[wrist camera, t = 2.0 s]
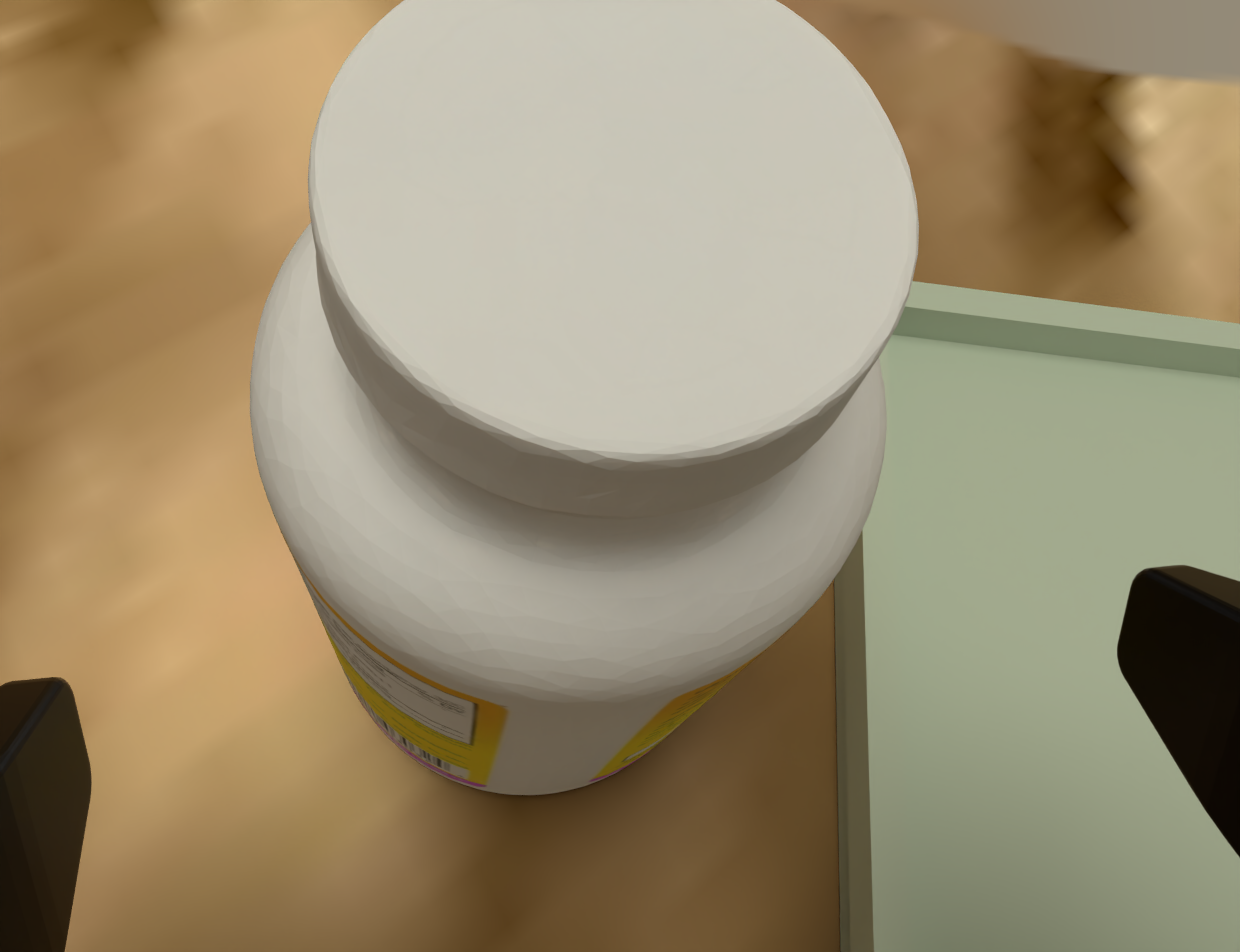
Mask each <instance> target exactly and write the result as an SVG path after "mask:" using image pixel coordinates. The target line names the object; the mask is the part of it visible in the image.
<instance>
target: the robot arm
mask: <svg viewBox="0 0 1240 952" xmlns="http://www.w3.org/2000/svg"><path fill="white" fill-rule="evenodd" d="M1117 659H1118V664H1119V667H1120V670H1121V673H1122V675H1123V677H1124V678H1125V680H1126V682H1127V683H1128V685H1129V687H1130V688H1131V690H1132V692H1133V693H1134V695H1135V696H1136V698H1137V700H1138V701H1139V703H1140V705H1141V706H1142V708H1143V710H1144V711H1145V713H1146V715H1147V716H1148V718H1149V720H1150V721H1151V723H1152V725H1153V726H1154V728H1155V730H1156V731H1157V733H1158V734H1159V736H1160V738H1161V739H1162V741H1163V743H1164V744H1165V746H1166V748H1167V749H1168V751H1169V753H1170V754H1171V756H1172V758H1173V759H1174V761H1175V763H1176V764H1177V766H1178V768H1179V769H1180V771H1181V772H1182V774H1183V776H1184V777H1185V779H1186V781H1187V782H1188V784H1189V786H1190V787H1191V789H1192V791H1193V792H1194V794H1195V795H1196V797H1197V798H1198V800H1199V801H1200V803H1201V805H1202V806H1203V808H1204V809H1205V811H1206V812H1207V814H1208V815H1209V817H1210V818H1211V819H1212V821H1213V822H1214V824H1215V825H1216V826H1217V828H1218V829H1219V831H1220V832H1221V834H1222V835H1223V836H1224V838H1225V839H1226V840H1227V842H1228V843H1229V844H1230V846H1231V847H1232V848H1233V850H1234V851H1235V852H1236V854H1237V855H1238V856H1239V858H1240V581H1237V580H1234V579H1231V578H1228V577H1224V576H1221V575H1218V574H1215V573H1211V572H1208V571H1205V570H1201V569H1198V568H1195V567H1192V566H1187V565H1171V566H1162V567H1152V568H1146V569H1143V570H1142V571H1140V572H1139V573H1138V574H1137V575H1136V576H1135V578H1134V579H1133V581H1132V584H1131V587H1130V591H1129V595H1128V600H1127V604H1126V608H1125V613H1124V617H1123V622H1122V626H1121V630H1120V635H1119V639H1118V644H1117ZM90 797H91V768H90V762H89V757H88V753H87V749H86V745H85V740H84V736H83V732H82V728H81V723H80V719H79V715H78V711H77V706H76V702H75V698H74V694H73V691H72V689H71V687H70V685H69V684H68V682H66V681H65V680H64V679H62V678H59V677H50V678H40V679H30V680H20V681H12V682H8V683H5V684H3V685H2V686H0V952H65V947H66V941H67V935H68V929H69V923H70V917H71V911H72V905H73V899H74V893H75V887H76V881H77V875H78V869H79V863H80V857H81V851H82V845H83V839H84V833H85V827H86V821H87V815H88V809H89V803H90Z"/></svg>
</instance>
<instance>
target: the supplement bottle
mask: <svg viewBox="0 0 1240 952" xmlns="http://www.w3.org/2000/svg"><path fill="white" fill-rule="evenodd" d="M308 193H309V209H310V217H311V223H310V224H309V225H308V227H307V228H306V229H305V230H304V232H303V233H302V235H301V236H300V237H299V239H298V240H297V242H296V243H295V245H294V246H293V248H292V250H291V251H290V253H289V254H288V256H287V258H286V259H285V261H284V263H283V264H282V266H281V268H280V271H279V273H278V275H277V277H276V279H275V282H274V284H273V286H272V289H271V291H270V293H269V296H268V298H267V300H266V303H265V306H264V309H263V312H262V316H261V320H260V324H259V328H258V333H257V337H256V342H255V348H254V354H253V360H252V370H251V380H250V418H251V427H252V435H253V443H254V451H255V456H256V460H257V465H258V469H259V473H260V477H261V480H262V483H263V486H264V489H265V492H266V495H267V498H268V501H269V503H270V505H271V508H272V511H273V514H274V516H275V519H276V521H277V523H278V525H279V528H280V530H281V533H282V534H283V537H284V539H285V541H286V543H287V545H288V547H289V549H290V552H291V554H292V556H293V558H294V560H295V562H296V564H297V566H298V569H299V571H300V573H301V575H302V578H303V580H304V582H305V584H306V587H307V589H308V591H309V593H310V595H311V598H312V600H313V602H314V605H315V607H316V609H317V612H318V614H319V616H320V619H321V621H322V623H323V625H324V628H325V630H326V632H327V635H328V637H329V639H330V641H331V644H332V646H333V648H334V650H335V653H336V655H337V657H338V659H339V662H340V664H341V666H342V668H343V671H344V673H345V675H346V677H347V679H348V681H349V683H350V685H351V687H352V689H353V690H354V692H355V694H356V695H357V697H358V699H359V700H360V702H361V704H362V705H363V707H364V708H365V709H366V711H367V712H368V713H369V715H370V716H371V717H372V719H373V720H374V722H375V723H376V724H377V725H378V726H379V728H380V729H381V730H382V731H383V732H384V733H385V735H386V736H387V737H388V738H389V739H390V740H392V741H393V742H394V743H395V744H396V745H397V746H398V747H399V748H400V749H401V750H403V751H404V752H405V753H406V754H407V755H409V756H410V757H412V758H413V759H415V760H416V761H418V762H419V763H420V764H422V765H423V766H425V767H427V768H429V769H430V770H432V771H434V772H436V773H437V774H439V775H441V776H443V777H446V778H448V779H450V780H453V781H455V782H458V783H460V784H463V785H466V786H470V787H473V788H476V789H480V790H484V791H489V792H495V793H500V794H509V795H541V794H551V793H557V792H563V791H568V790H572V789H575V788H579V787H583V786H586V785H589V784H592V783H594V782H597V781H600V780H602V779H604V778H606V777H608V776H610V775H613V774H615V773H617V772H618V771H620V770H622V769H624V768H625V767H627V766H628V765H630V764H632V763H633V762H635V761H636V760H638V759H639V758H641V757H642V756H644V755H645V754H647V753H648V752H649V751H650V750H651V749H653V748H654V747H655V746H656V745H657V744H659V743H660V742H661V741H662V740H664V739H665V738H666V737H668V736H669V735H670V733H671V732H672V731H673V730H675V729H676V728H677V727H678V726H679V725H680V724H681V723H682V722H683V721H685V720H686V719H687V718H688V717H689V716H690V715H691V714H693V713H694V712H695V711H696V710H698V709H699V708H700V707H701V706H702V705H703V704H704V703H705V702H706V701H707V700H709V699H710V698H711V697H712V696H714V695H715V694H716V693H717V692H718V691H719V690H720V689H721V688H722V687H723V686H724V685H725V684H727V683H728V682H729V681H731V680H732V679H733V678H734V677H735V676H736V675H737V674H738V673H739V672H740V671H742V670H743V669H744V668H745V667H746V666H747V665H749V664H750V663H751V662H752V661H753V660H754V659H756V658H757V657H758V656H759V655H760V654H762V653H763V652H764V651H765V650H766V649H767V648H769V647H770V646H771V645H772V644H773V643H775V642H776V641H777V640H778V639H779V638H780V637H782V636H783V635H784V634H785V633H786V632H787V631H788V630H789V629H790V628H791V627H792V626H793V625H794V624H795V623H796V622H797V621H798V620H799V619H800V618H801V617H802V616H803V615H804V614H805V613H806V612H807V611H808V610H809V609H810V608H811V607H812V606H813V605H814V604H815V603H816V602H817V601H818V599H819V598H820V597H821V595H822V594H823V593H824V592H825V590H826V589H827V588H828V586H829V585H830V583H831V582H832V581H833V579H834V578H835V576H836V575H837V574H838V572H839V571H840V569H841V568H842V566H843V564H844V563H845V561H846V559H847V558H848V556H849V554H850V553H851V551H852V549H853V548H854V546H855V544H856V542H857V540H858V538H859V536H860V534H861V531H862V529H863V527H864V525H865V523H866V520H867V518H868V516H869V514H870V511H871V507H872V504H873V501H874V497H875V494H876V491H877V487H878V483H879V479H880V474H881V469H882V465H883V460H884V452H885V441H886V430H887V413H886V399H885V386H884V381H883V377H882V372H881V366H880V360H879V356H880V355H881V353H882V352H883V350H884V348H885V346H886V345H887V343H888V341H889V339H890V337H891V336H892V334H893V332H894V330H895V329H896V327H897V325H898V323H899V320H900V318H901V315H902V313H903V310H904V308H905V305H906V303H907V300H908V298H909V295H910V290H911V285H912V280H913V275H914V271H915V266H916V261H917V256H918V233H919V223H918V211H917V201H916V196H915V192H914V187H913V183H912V178H911V174H910V169H909V166H908V163H907V160H906V157H905V154H904V152H903V149H902V146H901V143H900V141H899V139H898V137H897V135H896V133H895V131H894V129H893V127H892V125H891V123H890V121H889V119H888V117H887V115H886V114H885V112H884V110H883V108H882V107H881V105H880V103H879V101H878V100H877V98H876V96H875V95H874V93H873V91H872V90H871V88H870V87H869V85H868V84H867V83H866V81H865V80H864V79H863V78H862V76H861V75H860V74H859V72H858V71H857V70H856V69H855V67H854V66H853V65H852V64H851V63H850V62H849V61H848V60H847V59H846V57H845V56H844V55H843V54H842V53H841V52H840V51H839V50H838V49H837V48H836V47H835V46H834V45H833V44H832V43H831V42H830V41H829V40H828V39H827V38H826V37H825V36H824V35H822V34H821V33H820V32H819V31H818V30H816V29H815V28H814V27H813V26H811V25H810V24H809V23H808V22H806V21H805V20H804V19H802V18H801V17H800V16H798V15H797V14H796V13H794V12H793V11H791V10H790V9H789V8H787V7H786V6H784V5H783V4H781V3H779V2H777V1H776V0H404V1H403V2H401V3H400V4H399V5H397V6H396V7H395V8H393V9H392V10H391V11H390V12H389V13H388V14H387V15H386V16H384V17H383V18H382V19H381V20H380V21H379V22H378V23H377V24H376V25H374V26H373V27H372V29H371V30H370V31H369V32H368V33H367V34H366V35H365V36H364V37H363V39H362V40H361V41H360V42H359V43H358V44H357V45H356V47H355V48H354V49H353V51H352V52H351V53H350V55H349V56H348V57H347V59H346V60H345V62H344V64H343V65H342V67H341V69H340V70H339V72H338V74H337V76H336V78H335V80H334V82H333V84H332V85H331V88H330V90H329V92H328V94H327V97H326V99H325V101H324V103H323V106H322V108H321V111H320V114H319V118H318V121H317V124H316V128H315V131H314V135H313V138H312V142H311V151H310V159H309V170H308Z"/></svg>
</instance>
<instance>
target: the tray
mask: <svg viewBox="0 0 1240 952" xmlns="http://www.w3.org/2000/svg"><path fill="white" fill-rule="evenodd" d="M879 360H880V366H881V372H882V377H883V381H884V386H885V399H886V413H887V430H886V441H885V452H884V460H883V465H882V469H881V474H880V479H879V483H878V487H877V491H876V494H875V497H874V501H873V504H872V507H871V511H870V514H869V516H868V518H867V520H866V523H865V525H864V527H863V529H862V531H861V534H860V536H859V538H858V540H857V542H856V544H855V546H854V548H853V549H852V551H851V553H850V554H849V556H848V558H847V559H846V561H845V563H844V564H843V566H842V568H841V569H840V571H839V572H838V574H837V575H836V576H835V578H834V592H835V651H836V711H837V771H838V831H839V891H840V951H841V952H1240V858H1239V856H1238V855H1237V854H1236V852H1235V851H1234V850H1233V848H1232V847H1231V846H1230V844H1229V843H1228V842H1227V840H1226V839H1225V838H1224V836H1223V835H1222V834H1221V832H1220V831H1219V829H1218V828H1217V826H1216V825H1215V824H1214V822H1213V821H1212V819H1211V818H1210V817H1209V815H1208V814H1207V812H1206V811H1205V809H1204V808H1203V806H1202V805H1201V803H1200V801H1199V800H1198V798H1197V797H1196V795H1195V794H1194V792H1193V791H1192V789H1191V787H1190V786H1189V784H1188V782H1187V781H1186V779H1185V777H1184V776H1183V774H1182V772H1181V771H1180V769H1179V768H1178V766H1177V764H1176V763H1175V761H1174V759H1173V758H1172V756H1171V754H1170V753H1169V751H1168V749H1167V748H1166V746H1165V744H1164V743H1163V741H1162V739H1161V738H1160V736H1159V734H1158V733H1157V731H1156V730H1155V728H1154V726H1153V725H1152V723H1151V721H1150V720H1149V718H1148V716H1147V715H1146V713H1145V711H1144V710H1143V708H1142V706H1141V705H1140V703H1139V701H1138V700H1137V698H1136V696H1135V695H1134V693H1133V692H1132V690H1131V688H1130V687H1129V685H1128V683H1127V682H1126V680H1125V678H1124V677H1123V675H1122V673H1121V670H1120V667H1119V664H1118V659H1117V644H1118V639H1119V635H1120V630H1121V626H1122V622H1123V617H1124V613H1125V608H1126V604H1127V600H1128V595H1129V591H1130V587H1131V584H1132V581H1133V579H1134V578H1135V576H1136V575H1137V574H1138V573H1139V572H1140V571H1142V570H1143V569H1146V568H1152V567H1162V566H1171V565H1187V566H1192V567H1195V568H1198V569H1201V570H1205V571H1208V572H1211V573H1215V574H1218V575H1221V576H1224V577H1228V578H1231V579H1234V580H1237V581H1240V324H1237V323H1230V322H1222V321H1214V320H1207V319H1199V318H1191V317H1183V316H1176V315H1168V314H1160V313H1153V312H1145V311H1137V310H1130V309H1122V308H1114V307H1107V306H1099V305H1091V304H1084V303H1076V302H1068V301H1061V300H1053V299H1045V298H1037V297H1030V296H1022V295H1014V294H1007V293H999V292H991V291H984V290H976V289H968V288H961V287H953V286H945V285H938V284H930V283H922V282H915V281H912V285H911V290H910V295H909V298H908V300H907V303H906V305H905V308H904V310H903V313H902V315H901V318H900V320H899V323H898V325H897V327H896V329H895V330H894V332H893V334H892V336H891V337H890V339H889V341H888V343H887V345H886V346H885V348H884V350H883V352H882V353H881V355H880V356H879Z"/></svg>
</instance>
